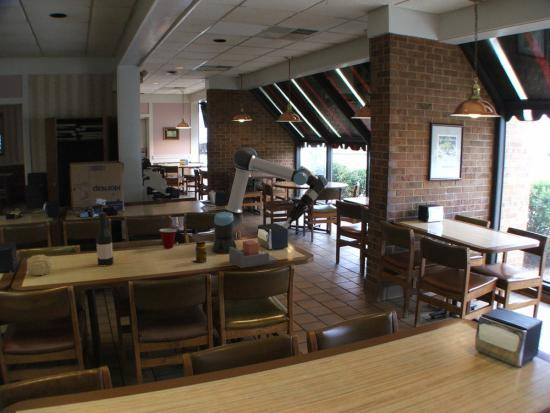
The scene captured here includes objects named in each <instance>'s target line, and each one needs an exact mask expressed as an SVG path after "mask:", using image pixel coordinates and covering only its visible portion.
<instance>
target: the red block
mask: <svg viewBox="0 0 550 413" xmlns="http://www.w3.org/2000/svg"><path fill="white" fill-rule="evenodd" d="M242 249H243V253H244V256H249V255H255V254H260V253H259V243H258V242H257V241H255V240H252V239H251V240H250V239H249V240H243V241H242Z"/></svg>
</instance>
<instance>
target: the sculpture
mask: <svg viewBox="0 0 550 413" xmlns="http://www.w3.org/2000/svg"><path fill="white" fill-rule="evenodd" d="M50 259H51V258H50V257H49V256H47V255H45V254H36V255H31V257H29V258H28V259H26V268H27V271H28V273H29V274H30V275H31V276H33V275H41V276H43V275H42V274H45V275H47V274H48V273H49V272H50V271H51V268H52V263H51V262H52V261H51V260H50ZM46 273H47V274H46Z"/></svg>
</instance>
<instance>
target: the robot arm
mask: <svg viewBox="0 0 550 413" xmlns="http://www.w3.org/2000/svg"><path fill="white" fill-rule="evenodd" d="M232 162H233V164H234V168H235V174H234V178H233V182H232V187H231V191H230V195H229V200H228V202H227V203H228V204H227V205H226V206H225V207H224V211H222V212H218V213H216V214H215V215H214V220H213V223H214V240H213V244H212V247H211V248H212V249H211V250H212V253H216V254H221V255H222V254H223V255H224V254H229V247H234V248H235V249H237V248H238V247H237V244H236V241H235V239H234V238H235V237H234V230H236V229H237V228H238V227H240V226H241V224H242V223H243V212H244V211H243V208H242V207H243V202H244V197H245V193H246V189H247V184H248V180H249V177H250V173H252V172H253V171H256V172H260V173H263V174H266V175H269V176H271V177H275V178H278V179H281V180H285V181H289V182H292V183H294V184H295V185H297V186H304V185H305V184H306V185H307V186H308V188H307V189H306V191H305V192H304V193H303V194H302V195H301V197H300V201H299V202H298V203H293V207H292V209H291V210H290V212H289V213H288V215H287V217H288V218H287V220H286V221H285V222H284V224H283V225H282V226H283V228H284V229H285V230H287V229H288V228H289V227H290V226H291V225H292V223H294V221H297V220H299V219H300V218H301V217H302V216H303V215H304V214H305V213H306V212H308V211H309V208H308V207H310V206H311V205H312V204H314V202H315V200H316V199H317V198H318V197H319V196H320V194H321V193H322V192H323V191H324V190H325V188H326V186H328V184H329V180H328V179H327V178H326V177H325V176H323V175H322V174H319V175H315V173H313V172H312V171H311V170H309V169H308V168H307V167H306V166H304V165H300V167H299V168H298V169H295V168H292V167H288V166H285V165H282V164H278V163H276V162H273V161H269V160H266V159H263V158H259V157H258V153H257V152H256V150H255V149H253V148H252V147H249V146H248V147H246V146H245V147H242V148H239V149H236V150H235V151H234V152H233V155H232ZM237 250H238V249H237Z"/></svg>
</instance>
